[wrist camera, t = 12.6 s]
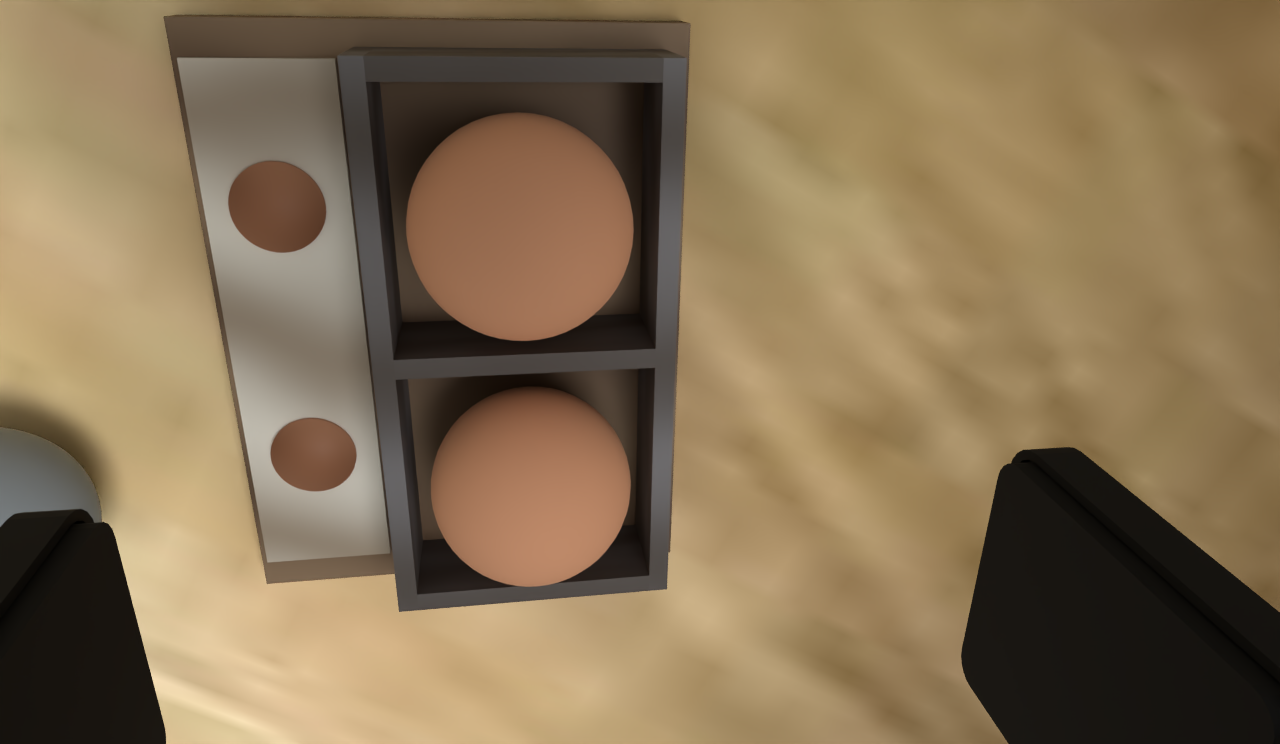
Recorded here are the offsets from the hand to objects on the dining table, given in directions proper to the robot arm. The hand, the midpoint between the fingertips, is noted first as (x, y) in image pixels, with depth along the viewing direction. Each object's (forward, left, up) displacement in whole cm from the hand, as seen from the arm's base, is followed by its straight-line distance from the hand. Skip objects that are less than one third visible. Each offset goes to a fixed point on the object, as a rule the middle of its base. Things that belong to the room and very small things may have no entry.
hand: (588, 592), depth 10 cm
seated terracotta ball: (+8, 0, -16) cm, 18 cm away
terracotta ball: (0, 0, -16) cm, 16 cm away
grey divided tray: (+4, -2, -20) cm, 21 cm away
